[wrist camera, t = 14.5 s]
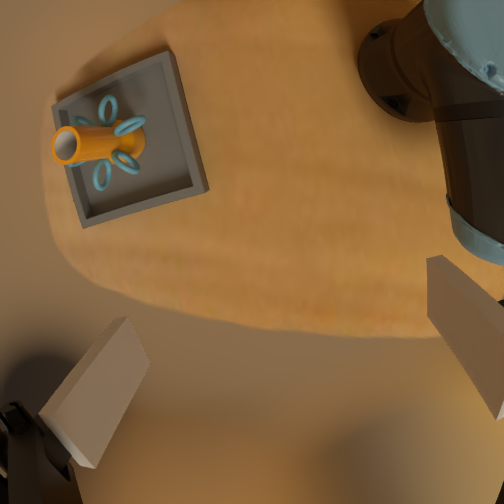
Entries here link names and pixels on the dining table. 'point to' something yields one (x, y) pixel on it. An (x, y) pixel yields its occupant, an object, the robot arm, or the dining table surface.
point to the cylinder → (101, 142)
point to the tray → (156, 142)
